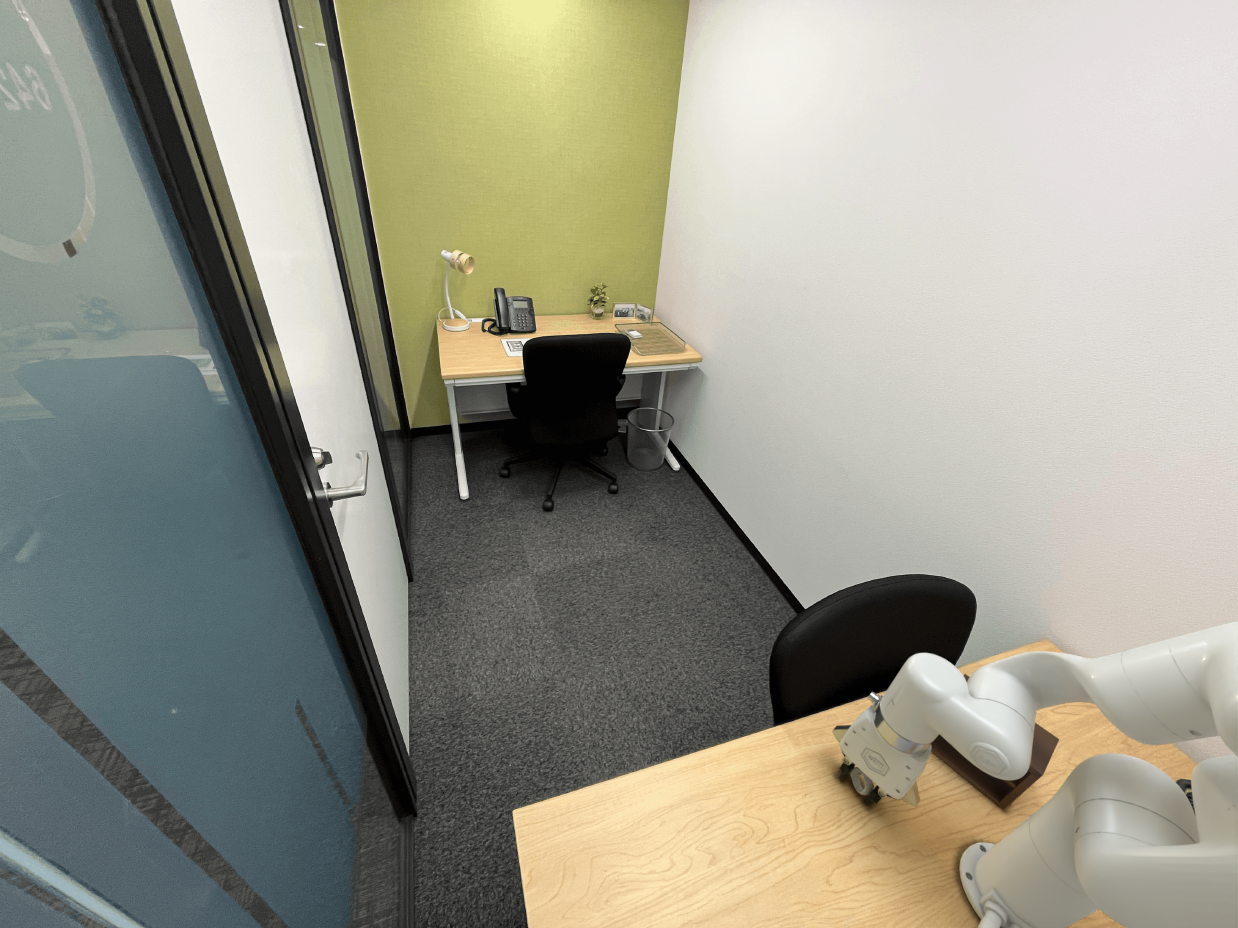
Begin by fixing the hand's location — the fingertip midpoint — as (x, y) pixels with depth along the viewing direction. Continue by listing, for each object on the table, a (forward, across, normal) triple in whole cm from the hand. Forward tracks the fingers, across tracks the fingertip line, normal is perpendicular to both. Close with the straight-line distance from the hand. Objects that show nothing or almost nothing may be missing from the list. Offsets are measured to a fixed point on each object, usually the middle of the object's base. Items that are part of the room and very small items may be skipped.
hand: (858, 785), depth 80 cm
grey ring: (0, 0, 0) cm, 0 cm away
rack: (0, +10, +21) cm, 23 cm away
